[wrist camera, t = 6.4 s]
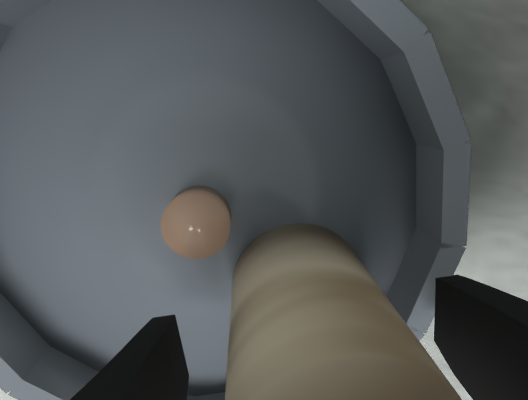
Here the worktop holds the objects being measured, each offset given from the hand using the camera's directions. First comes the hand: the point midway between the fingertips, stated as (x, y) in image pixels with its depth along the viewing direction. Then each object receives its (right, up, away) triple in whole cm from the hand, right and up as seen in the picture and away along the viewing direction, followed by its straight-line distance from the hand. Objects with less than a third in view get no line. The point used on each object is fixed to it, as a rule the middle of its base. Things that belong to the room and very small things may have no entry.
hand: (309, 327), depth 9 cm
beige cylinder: (0, +1, +2) cm, 2 cm away
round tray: (-3, +3, +2) cm, 5 cm away
